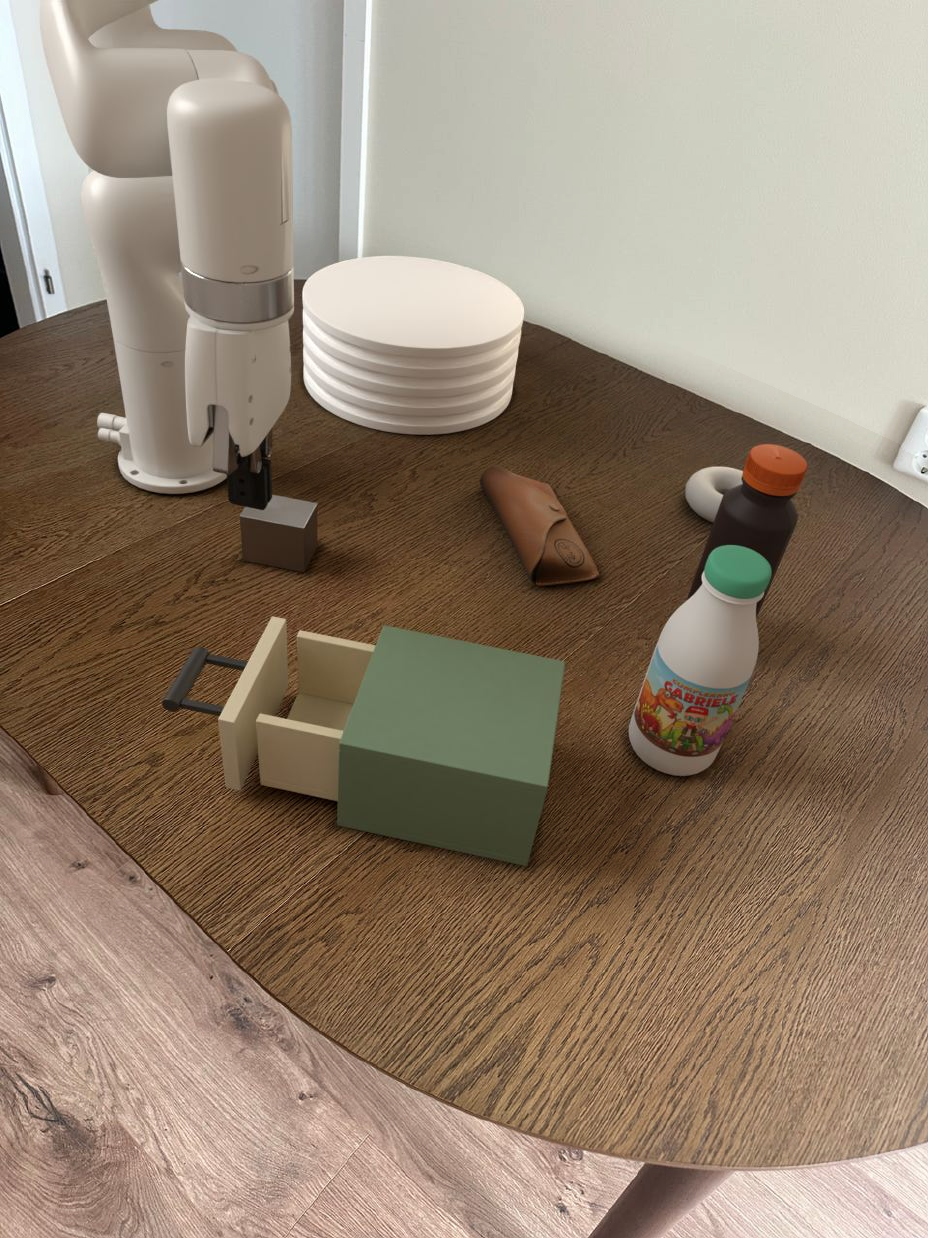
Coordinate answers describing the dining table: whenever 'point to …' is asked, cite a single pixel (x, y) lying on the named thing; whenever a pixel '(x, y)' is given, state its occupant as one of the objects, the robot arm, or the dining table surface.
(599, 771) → the dining table surface
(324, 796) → the drawer
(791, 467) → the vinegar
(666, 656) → the milk bottle
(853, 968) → the dining table surface
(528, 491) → the sunglasses case
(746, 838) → the dining table surface
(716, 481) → the donut
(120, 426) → the robot arm
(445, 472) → the dining table surface
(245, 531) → the matte grey box
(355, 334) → the plate stack
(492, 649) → the cabinet
